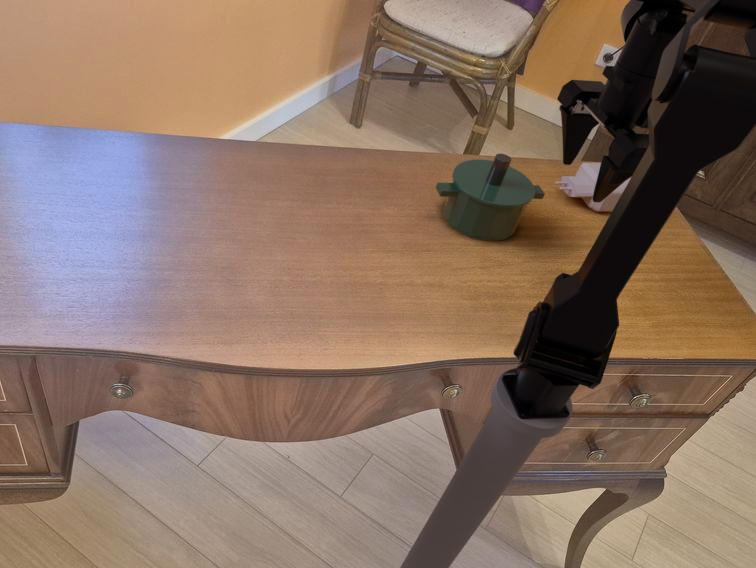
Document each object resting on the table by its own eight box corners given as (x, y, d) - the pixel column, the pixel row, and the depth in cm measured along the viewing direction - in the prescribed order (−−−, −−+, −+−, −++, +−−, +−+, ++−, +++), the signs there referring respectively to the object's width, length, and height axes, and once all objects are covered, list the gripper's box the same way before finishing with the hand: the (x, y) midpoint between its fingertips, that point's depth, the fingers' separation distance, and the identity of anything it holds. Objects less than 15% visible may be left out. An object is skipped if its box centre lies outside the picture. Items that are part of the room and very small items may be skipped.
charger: (540, 183, 108) (615, 184, 111) (563, 214, 102) (642, 214, 105) (551, 159, 105) (628, 160, 108) (575, 189, 99) (657, 190, 102)
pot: (541, 241, 96) (559, 207, 92) (439, 240, 93) (452, 204, 89) (514, 199, 104) (529, 165, 99) (419, 196, 101) (430, 161, 96)
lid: (545, 212, 91) (560, 182, 88) (465, 210, 89) (477, 180, 85) (514, 166, 100) (526, 137, 96) (441, 164, 98) (450, 134, 94)
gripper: (748, 107, 68) (669, 224, 79) (659, 40, 80) (602, 149, 92) (659, 102, 66) (591, 222, 77) (582, 34, 78) (533, 146, 90)
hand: (581, 182), depth 84 cm, fingers open, 9 cm apart
